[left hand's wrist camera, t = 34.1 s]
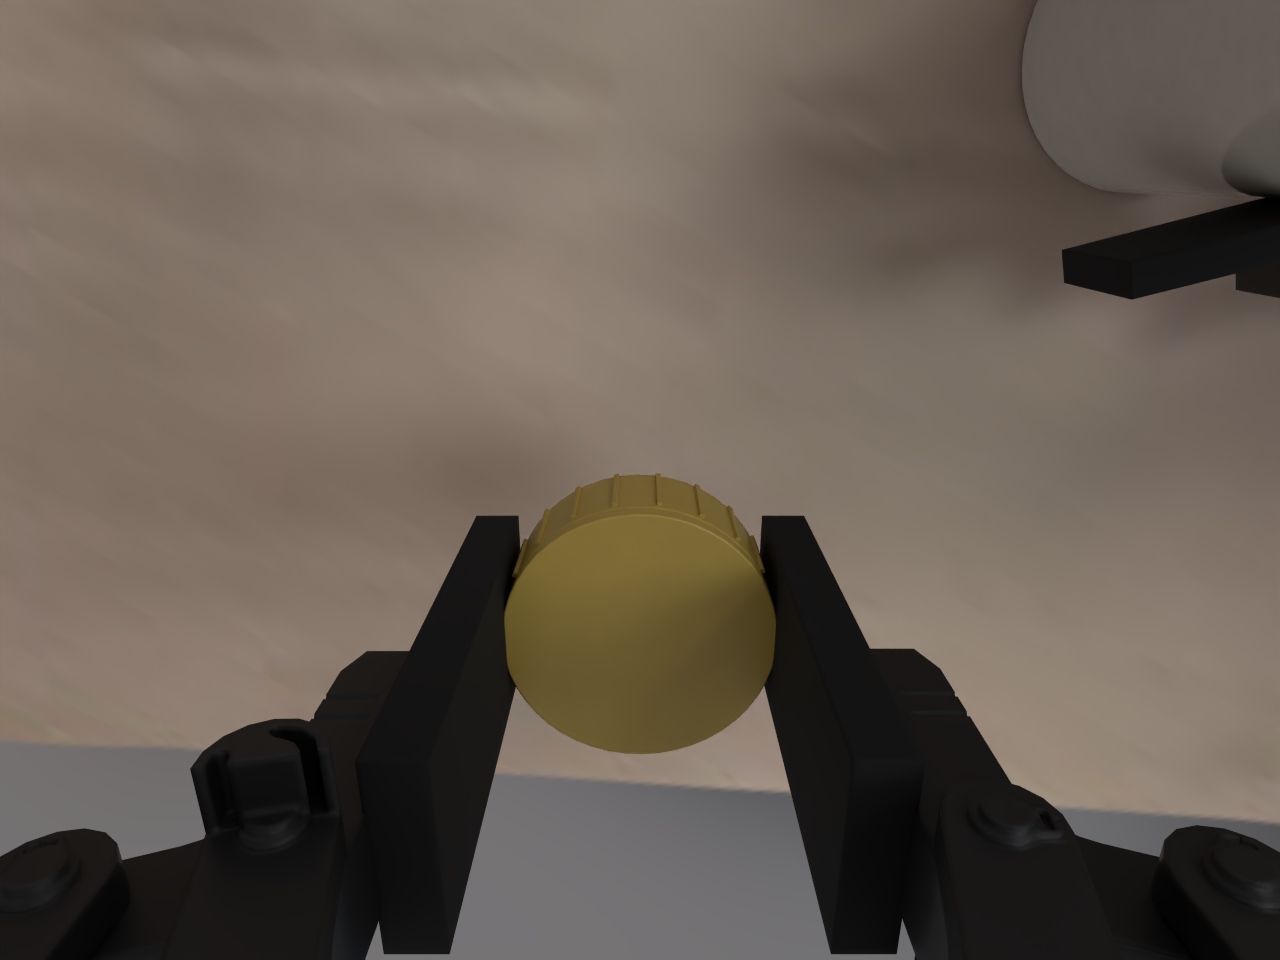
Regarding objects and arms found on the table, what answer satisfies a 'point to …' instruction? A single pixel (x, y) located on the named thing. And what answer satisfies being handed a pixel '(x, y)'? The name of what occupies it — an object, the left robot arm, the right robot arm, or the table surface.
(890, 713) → the left robot arm
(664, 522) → the cap
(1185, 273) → the right robot arm
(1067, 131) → the bottle
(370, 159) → the table surface
